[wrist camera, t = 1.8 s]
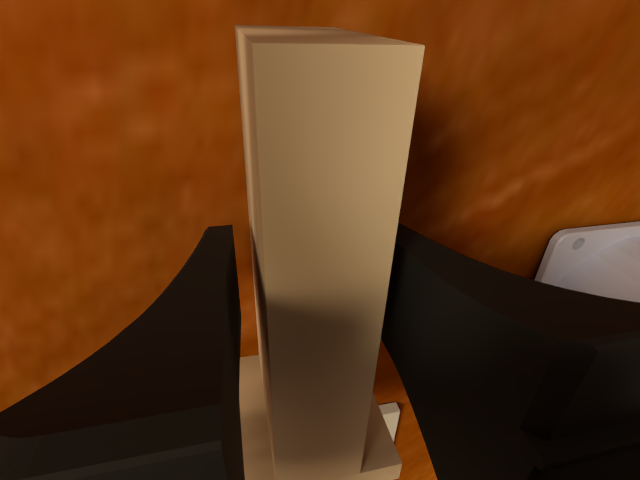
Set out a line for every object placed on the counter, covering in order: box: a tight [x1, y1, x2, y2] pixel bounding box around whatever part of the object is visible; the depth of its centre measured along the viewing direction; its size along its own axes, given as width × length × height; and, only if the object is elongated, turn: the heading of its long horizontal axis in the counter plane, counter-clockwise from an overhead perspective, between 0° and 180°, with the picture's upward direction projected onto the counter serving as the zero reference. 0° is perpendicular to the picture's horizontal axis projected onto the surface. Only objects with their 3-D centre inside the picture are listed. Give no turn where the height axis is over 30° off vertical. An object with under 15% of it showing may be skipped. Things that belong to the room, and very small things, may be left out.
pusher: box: [235, 25, 425, 480], centre depth 10 cm, size 5×12×5 cm, turn 179°
